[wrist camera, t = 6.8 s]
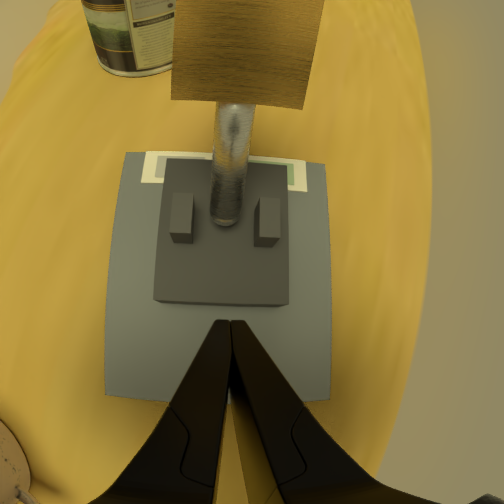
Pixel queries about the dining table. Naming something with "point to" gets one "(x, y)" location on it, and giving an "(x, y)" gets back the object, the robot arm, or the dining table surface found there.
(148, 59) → the coffee can
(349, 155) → the dining table surface
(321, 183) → the switch board
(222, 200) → the lever
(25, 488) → the teacup with lid
